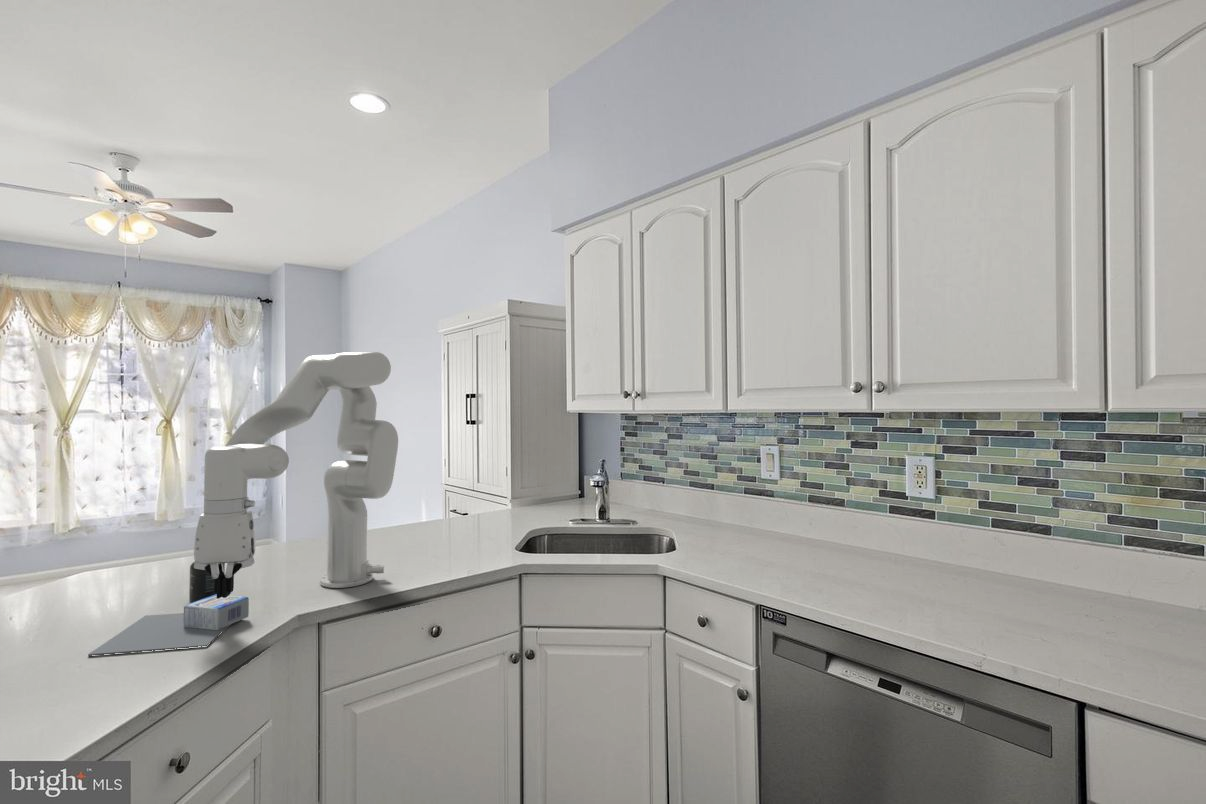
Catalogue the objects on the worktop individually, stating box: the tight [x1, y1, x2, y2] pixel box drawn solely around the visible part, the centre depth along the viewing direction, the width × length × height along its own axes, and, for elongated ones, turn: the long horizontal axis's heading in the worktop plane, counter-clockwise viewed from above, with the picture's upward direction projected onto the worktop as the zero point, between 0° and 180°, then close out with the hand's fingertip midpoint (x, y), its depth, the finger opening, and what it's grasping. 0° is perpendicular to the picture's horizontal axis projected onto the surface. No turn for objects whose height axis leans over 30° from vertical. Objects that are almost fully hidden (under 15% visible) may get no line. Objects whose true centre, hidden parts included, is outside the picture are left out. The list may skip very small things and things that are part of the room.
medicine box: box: [183, 594, 250, 630], centre depth 122 cm, size 8×4×9 cm
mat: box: [87, 612, 230, 657], centre depth 118 cm, size 19×20×1 cm
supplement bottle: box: [188, 561, 226, 604], centre depth 137 cm, size 7×7×12 cm
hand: (223, 595), depth 120 cm, fingers closed
